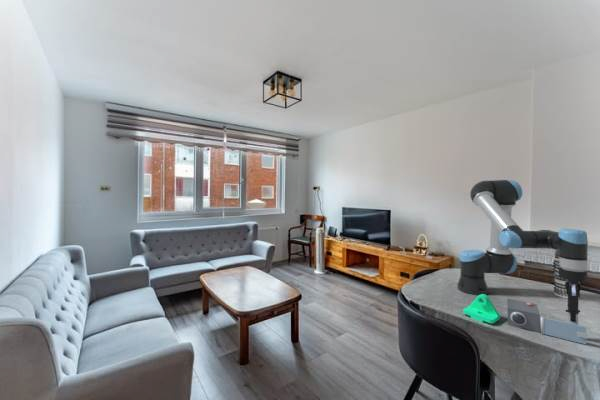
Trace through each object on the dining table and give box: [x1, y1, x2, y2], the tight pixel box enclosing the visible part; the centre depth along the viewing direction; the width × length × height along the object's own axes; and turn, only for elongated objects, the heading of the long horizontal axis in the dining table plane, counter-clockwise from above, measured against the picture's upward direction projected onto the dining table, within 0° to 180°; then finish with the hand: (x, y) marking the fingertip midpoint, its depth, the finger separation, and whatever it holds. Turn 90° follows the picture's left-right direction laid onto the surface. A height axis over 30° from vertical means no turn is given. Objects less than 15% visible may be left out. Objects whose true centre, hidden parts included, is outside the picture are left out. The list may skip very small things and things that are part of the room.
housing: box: [507, 298, 541, 334], centre depth 108 cm, size 10×13×8 cm
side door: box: [540, 316, 588, 345], centre depth 96 cm, size 1×12×7 cm, turn 49°
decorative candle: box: [552, 250, 568, 299], centre depth 135 cm, size 9×9×25 cm
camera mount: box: [462, 294, 501, 324], centre depth 113 cm, size 12×8×10 cm, turn 31°
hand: (572, 328), depth 97 cm, fingers closed
